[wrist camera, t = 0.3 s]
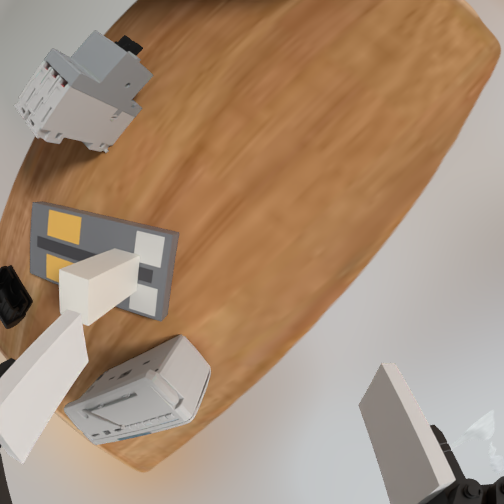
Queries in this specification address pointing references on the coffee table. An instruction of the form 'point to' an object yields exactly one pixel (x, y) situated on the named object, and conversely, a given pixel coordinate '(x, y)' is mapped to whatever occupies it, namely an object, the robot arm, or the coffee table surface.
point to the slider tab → (98, 283)
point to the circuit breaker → (85, 93)
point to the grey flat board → (101, 240)
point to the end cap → (12, 298)
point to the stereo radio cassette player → (143, 394)
